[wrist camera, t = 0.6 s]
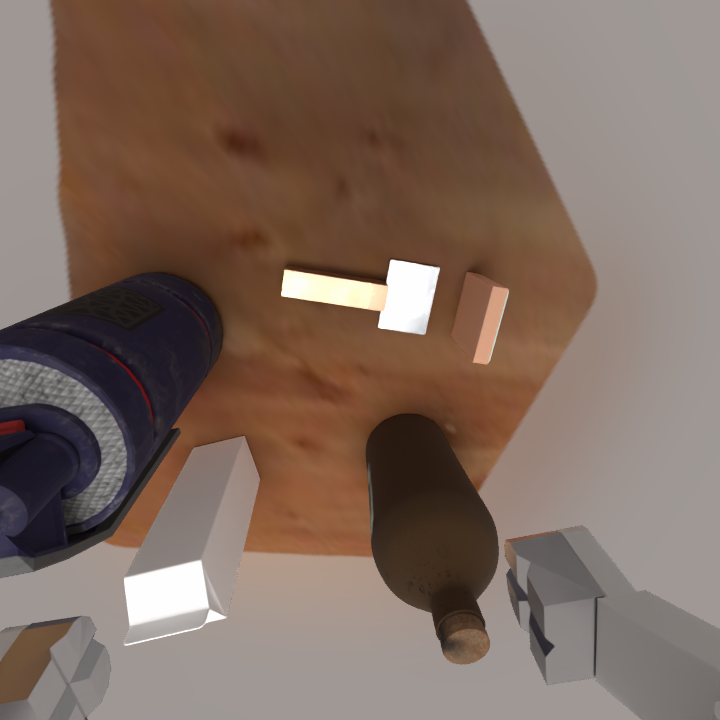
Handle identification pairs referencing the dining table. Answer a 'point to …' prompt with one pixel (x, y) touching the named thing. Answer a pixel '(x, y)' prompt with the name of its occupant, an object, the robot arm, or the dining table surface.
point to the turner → (372, 292)
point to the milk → (193, 544)
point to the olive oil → (431, 531)
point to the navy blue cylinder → (94, 410)
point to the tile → (479, 316)
